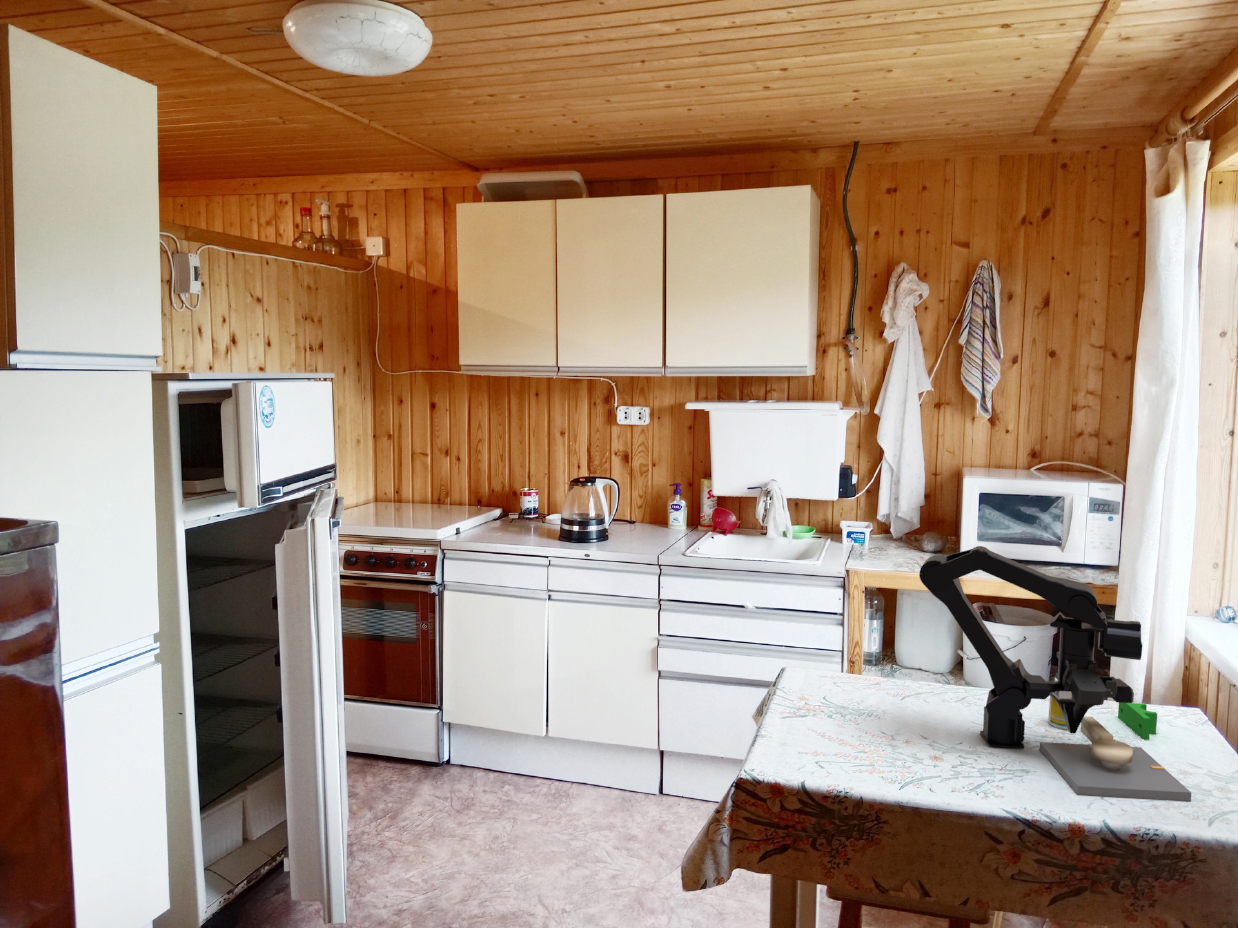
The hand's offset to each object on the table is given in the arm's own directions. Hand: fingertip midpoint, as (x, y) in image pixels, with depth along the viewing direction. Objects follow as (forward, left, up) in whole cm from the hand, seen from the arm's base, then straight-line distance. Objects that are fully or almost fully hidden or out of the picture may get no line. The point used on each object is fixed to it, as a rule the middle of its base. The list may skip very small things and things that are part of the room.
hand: (1071, 732), depth 164 cm
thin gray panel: (+4, -8, -4) cm, 10 cm away
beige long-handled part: (+4, -4, -1) cm, 6 cm away
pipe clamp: (+18, +14, -5) cm, 24 cm away
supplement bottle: (+4, +14, -4) cm, 15 cm away
